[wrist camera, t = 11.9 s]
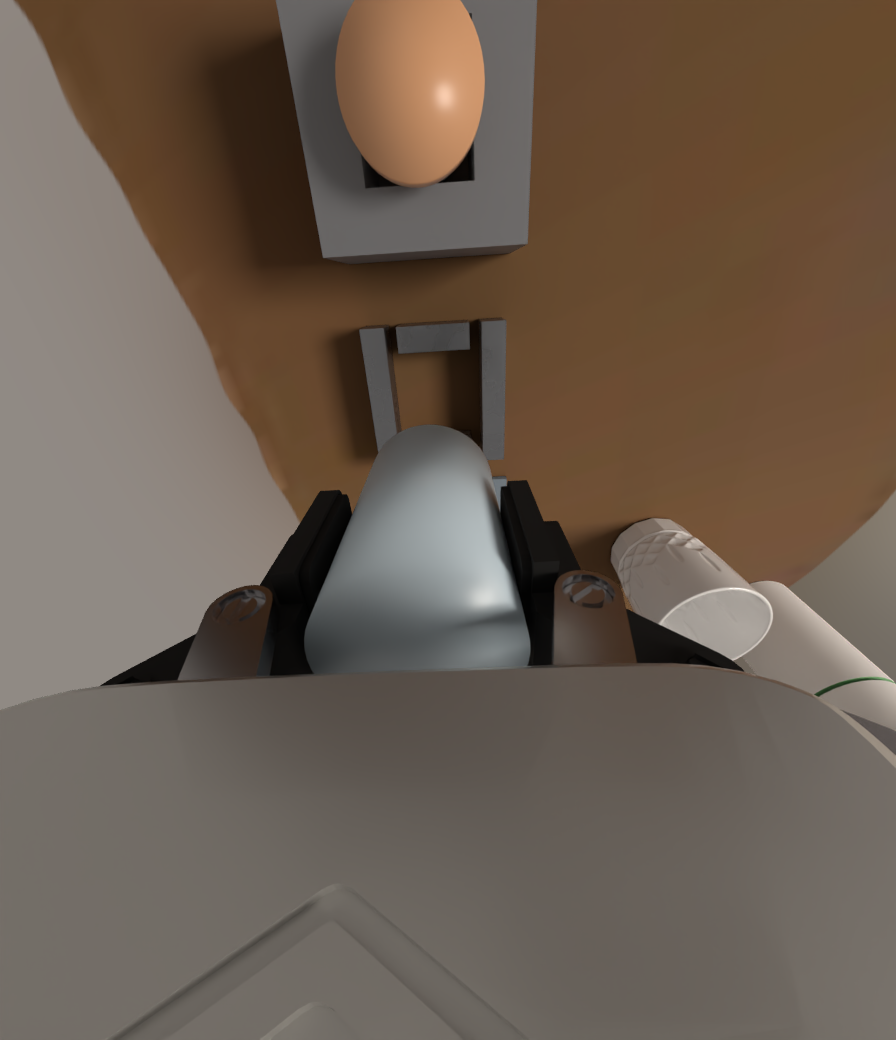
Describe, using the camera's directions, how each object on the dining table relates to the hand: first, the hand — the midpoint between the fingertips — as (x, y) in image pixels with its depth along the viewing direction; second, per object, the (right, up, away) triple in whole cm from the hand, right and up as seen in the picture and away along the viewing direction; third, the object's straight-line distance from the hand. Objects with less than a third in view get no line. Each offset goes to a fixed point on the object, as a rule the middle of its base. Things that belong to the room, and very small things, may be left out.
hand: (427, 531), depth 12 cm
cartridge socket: (0, +10, +17) cm, 19 cm away
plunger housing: (-1, +21, +10) cm, 23 cm away
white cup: (+19, -2, +24) cm, 30 cm away
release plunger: (-1, +20, +8) cm, 22 cm away
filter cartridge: (0, +2, +3) cm, 3 cm away
